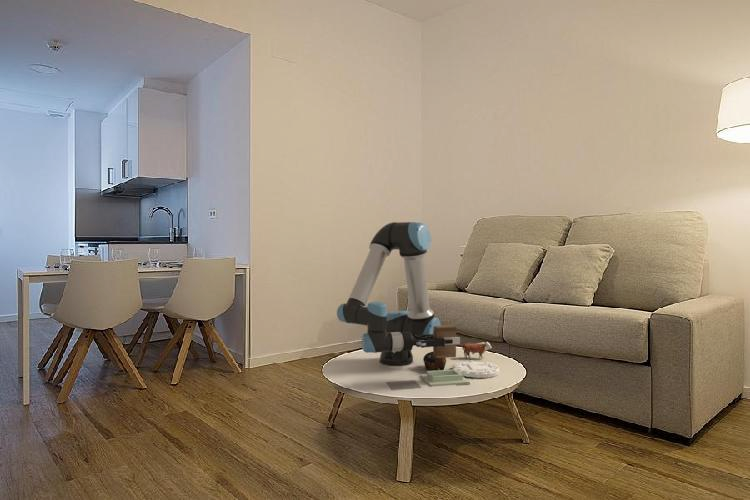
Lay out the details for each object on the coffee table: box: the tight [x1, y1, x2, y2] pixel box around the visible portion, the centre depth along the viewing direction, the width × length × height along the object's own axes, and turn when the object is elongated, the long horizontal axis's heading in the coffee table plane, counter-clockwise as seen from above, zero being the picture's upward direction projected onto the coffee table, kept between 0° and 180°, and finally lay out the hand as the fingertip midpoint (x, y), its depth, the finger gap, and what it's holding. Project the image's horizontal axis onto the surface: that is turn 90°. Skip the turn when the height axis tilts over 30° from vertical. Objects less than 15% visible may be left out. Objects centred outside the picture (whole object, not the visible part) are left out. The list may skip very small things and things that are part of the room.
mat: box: [385, 379, 422, 391], centre depth 203 cm, size 10×12×1 cm
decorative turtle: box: [423, 351, 447, 371], centre depth 225 cm, size 10×15×8 cm, turn 23°
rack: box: [420, 369, 471, 387], centre depth 209 cm, size 14×16×3 cm
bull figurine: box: [462, 341, 492, 360], centre depth 243 cm, size 4×13×8 cm, turn 81°
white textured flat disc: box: [451, 359, 501, 379], centre depth 221 cm, size 20×20×3 cm
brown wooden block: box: [432, 324, 457, 359], centre depth 208 cm, size 4×8×12 cm, turn 102°
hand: (457, 339), depth 209 cm, fingers closed on brown wooden block, 4 cm apart
